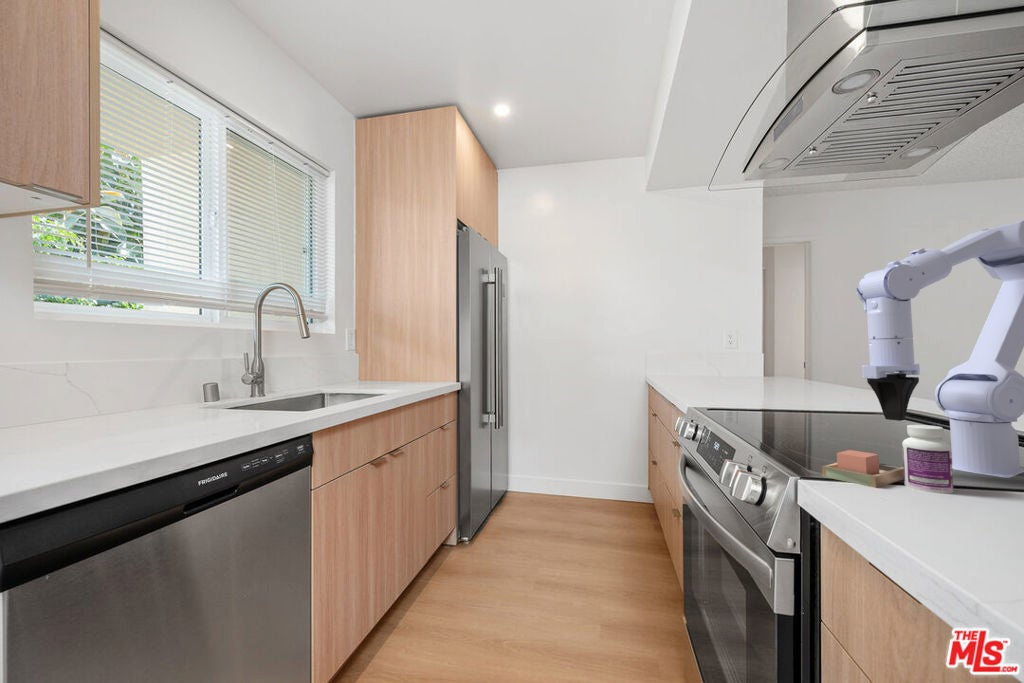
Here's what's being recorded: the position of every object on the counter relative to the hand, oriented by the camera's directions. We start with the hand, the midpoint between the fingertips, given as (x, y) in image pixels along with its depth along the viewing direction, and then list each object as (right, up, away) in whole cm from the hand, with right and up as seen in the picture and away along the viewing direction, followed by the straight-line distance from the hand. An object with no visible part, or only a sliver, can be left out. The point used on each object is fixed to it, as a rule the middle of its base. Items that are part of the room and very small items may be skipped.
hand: (894, 419), depth 73 cm
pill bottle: (-2, -9, -8) cm, 13 cm away
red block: (-9, -9, -3) cm, 13 cm away
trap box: (-4, -10, -1) cm, 10 cm away
